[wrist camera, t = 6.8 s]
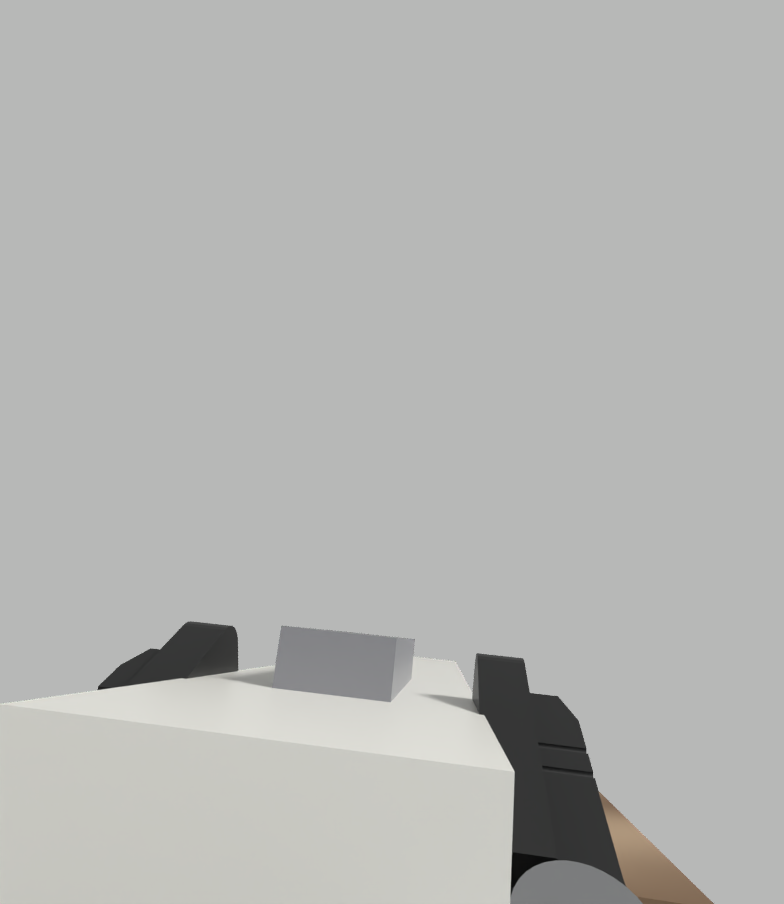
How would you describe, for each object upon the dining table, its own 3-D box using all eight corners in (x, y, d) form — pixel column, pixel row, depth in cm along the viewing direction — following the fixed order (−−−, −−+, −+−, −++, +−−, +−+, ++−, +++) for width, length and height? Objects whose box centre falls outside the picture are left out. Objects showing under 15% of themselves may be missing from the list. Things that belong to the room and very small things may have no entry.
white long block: (369, 714, 29) (377, 634, 30) (450, 724, 28) (455, 642, 30) (-146, 1215, 4) (28, 600, 5) (493, 1375, 3) (518, 652, 4)
